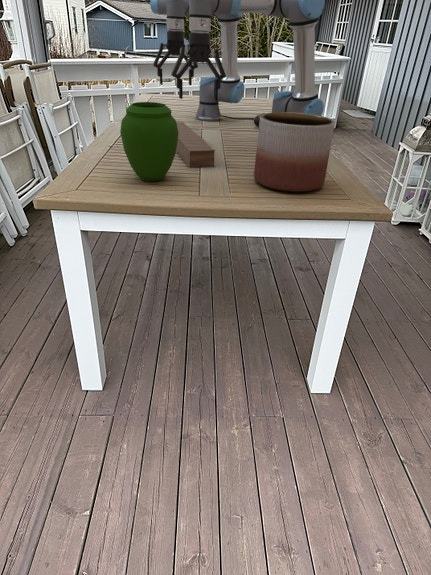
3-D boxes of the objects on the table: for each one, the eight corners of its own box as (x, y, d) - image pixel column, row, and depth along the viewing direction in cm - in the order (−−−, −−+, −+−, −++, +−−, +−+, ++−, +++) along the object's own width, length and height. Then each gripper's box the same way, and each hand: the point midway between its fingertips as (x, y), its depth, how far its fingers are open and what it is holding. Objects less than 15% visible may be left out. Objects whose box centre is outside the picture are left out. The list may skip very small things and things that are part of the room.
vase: (131, 189, 135) (125, 110, 122) (118, 172, 150) (112, 100, 137) (186, 184, 142) (187, 109, 129) (169, 168, 157) (167, 99, 144)
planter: (334, 194, 140) (348, 126, 129) (263, 195, 136) (271, 125, 125) (308, 172, 162) (318, 112, 150) (246, 172, 157) (251, 111, 146)
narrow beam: (163, 135, 206) (163, 122, 203) (183, 135, 209) (183, 121, 206) (189, 167, 161) (189, 150, 157) (213, 166, 163) (214, 150, 160)
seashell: (267, 127, 236) (269, 112, 232) (270, 129, 231) (271, 114, 227) (251, 126, 235) (253, 111, 230) (253, 128, 230) (255, 113, 226)
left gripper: (148, 29, 171) (150, 85, 183) (205, 32, 178) (203, 86, 189) (145, 29, 177) (147, 83, 189) (201, 32, 184) (199, 84, 195)
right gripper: (166, 30, 137) (167, 99, 149) (236, 34, 144) (232, 100, 155) (162, 30, 143) (164, 96, 155) (230, 34, 150) (226, 97, 161)
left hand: (175, 84), depth 189 cm, fingers open, 13 cm apart
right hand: (198, 98), depth 155 cm, fingers open, 13 cm apart
